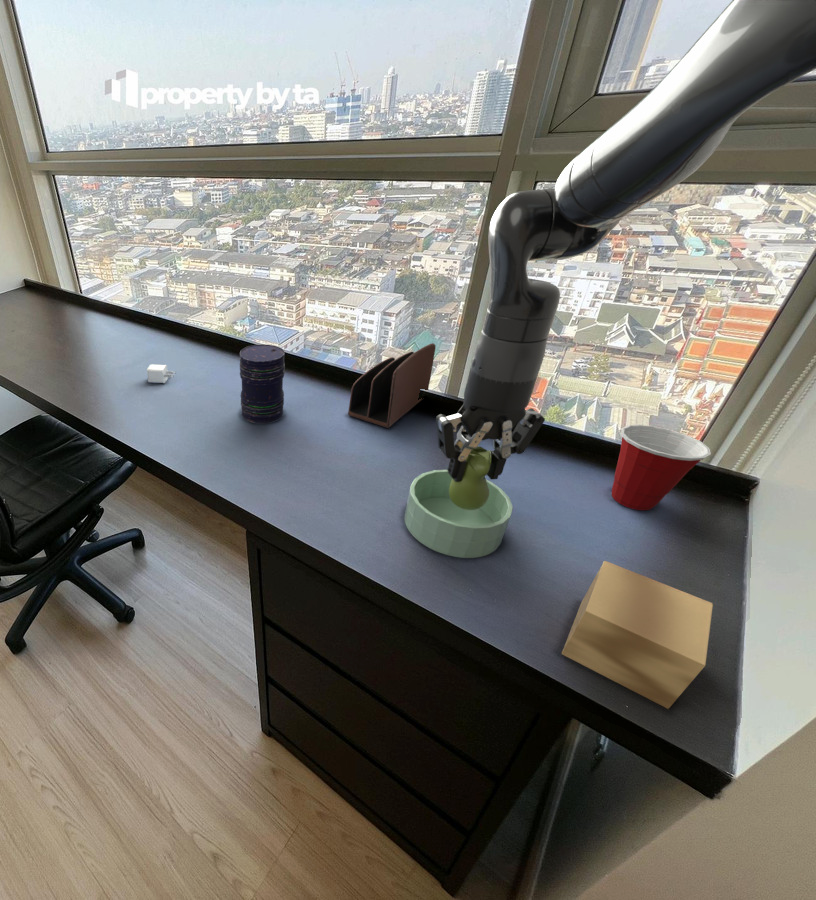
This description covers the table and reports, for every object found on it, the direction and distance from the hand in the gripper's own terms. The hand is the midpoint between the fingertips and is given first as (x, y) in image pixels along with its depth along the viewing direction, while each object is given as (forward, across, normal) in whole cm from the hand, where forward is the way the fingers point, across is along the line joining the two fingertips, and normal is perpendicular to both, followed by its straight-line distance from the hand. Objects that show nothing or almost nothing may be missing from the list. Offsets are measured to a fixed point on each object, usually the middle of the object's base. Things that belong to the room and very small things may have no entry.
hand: (473, 476), depth 70 cm
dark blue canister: (+11, -26, +43) cm, 51 cm away
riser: (+11, +10, -21) cm, 26 cm away
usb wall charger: (+10, -50, +65) cm, 83 cm away
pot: (+11, 0, +2) cm, 11 cm away
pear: (+6, 0, 0) cm, 6 cm away
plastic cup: (+11, +32, +5) cm, 34 cm away
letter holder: (+11, +4, +43) cm, 44 cm away
